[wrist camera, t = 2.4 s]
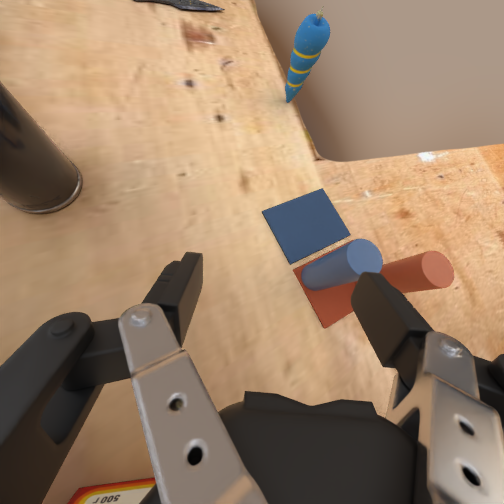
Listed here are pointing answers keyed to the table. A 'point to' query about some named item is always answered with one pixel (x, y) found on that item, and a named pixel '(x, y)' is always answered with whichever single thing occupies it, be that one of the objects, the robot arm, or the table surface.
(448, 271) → the terracotta skittle
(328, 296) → the terracotta mat
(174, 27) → the table surface
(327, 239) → the blue mat
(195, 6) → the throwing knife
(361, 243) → the blue cylinder
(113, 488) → the baking soda box
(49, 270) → the table surface
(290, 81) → the ornament
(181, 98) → the table surface
